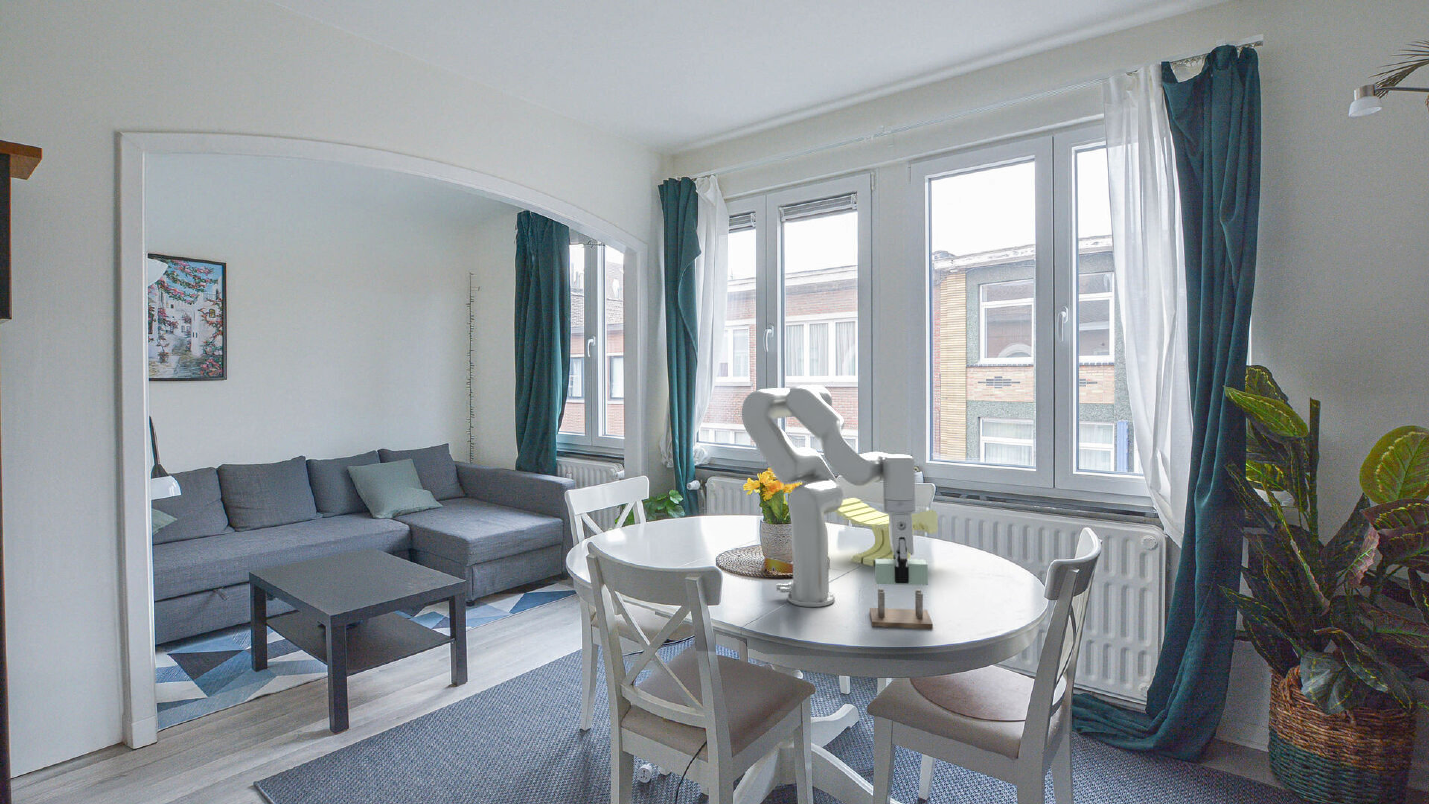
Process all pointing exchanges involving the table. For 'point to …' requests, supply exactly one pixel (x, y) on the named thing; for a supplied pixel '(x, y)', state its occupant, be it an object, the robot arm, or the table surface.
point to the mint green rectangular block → (887, 571)
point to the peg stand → (901, 614)
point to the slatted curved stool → (881, 528)
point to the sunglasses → (778, 565)
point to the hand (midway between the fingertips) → (900, 579)
